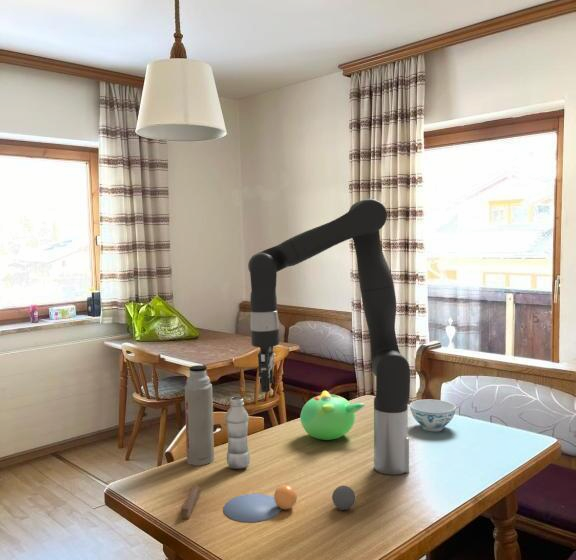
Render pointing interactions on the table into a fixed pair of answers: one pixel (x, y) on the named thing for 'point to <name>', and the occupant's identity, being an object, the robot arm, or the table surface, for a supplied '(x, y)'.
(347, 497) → the charcoal ball
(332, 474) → the table surface
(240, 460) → the plastic bottle
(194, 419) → the thermos bottle
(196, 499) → the walnut rail
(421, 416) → the chinaware
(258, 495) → the blue mark
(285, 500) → the orange ball
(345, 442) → the table surface
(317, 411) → the green bird toy
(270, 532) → the table surface
